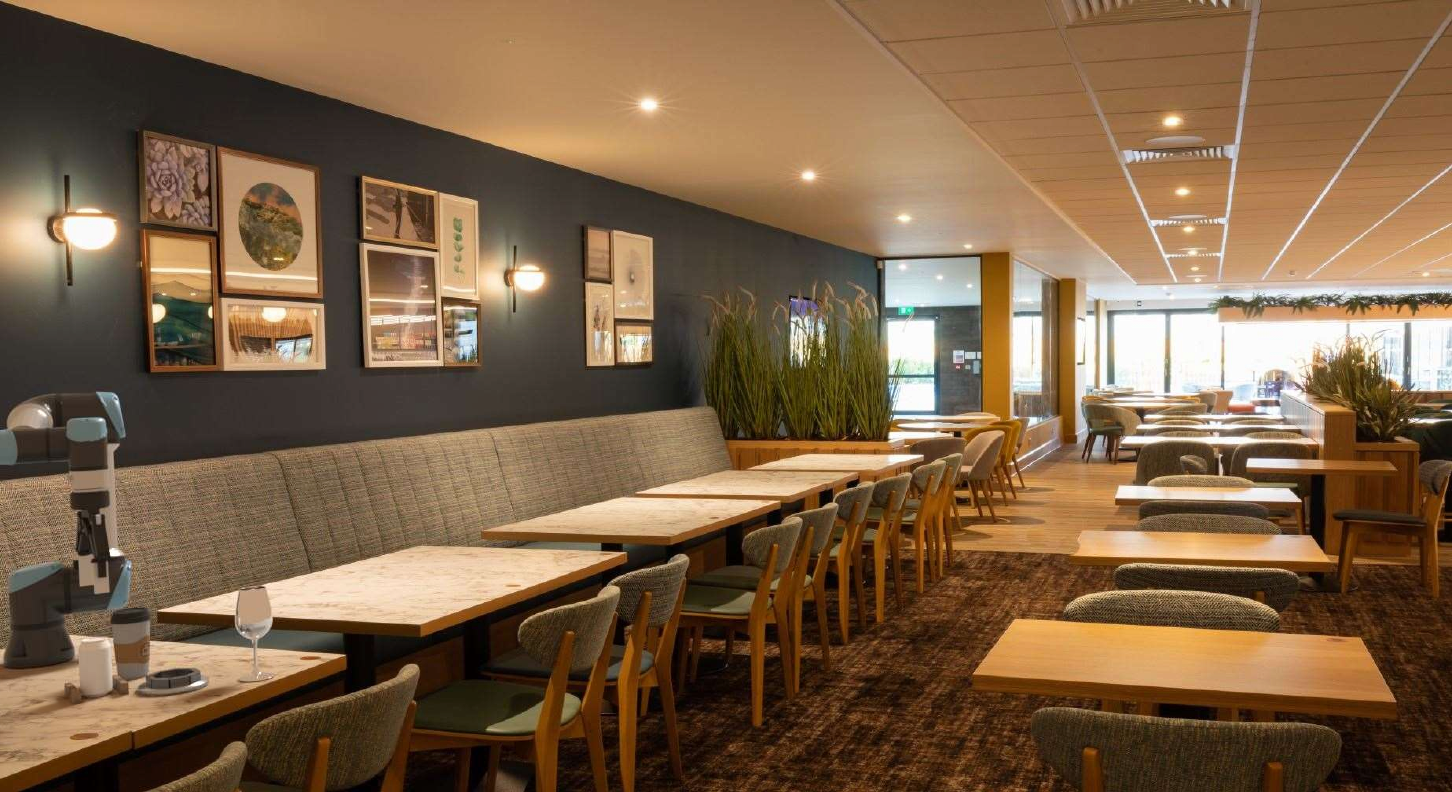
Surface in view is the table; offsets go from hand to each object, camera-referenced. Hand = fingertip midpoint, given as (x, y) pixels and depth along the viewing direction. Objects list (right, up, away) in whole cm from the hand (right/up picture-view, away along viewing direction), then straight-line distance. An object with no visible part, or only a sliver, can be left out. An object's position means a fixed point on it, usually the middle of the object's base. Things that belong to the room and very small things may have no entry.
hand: (94, 589), depth 263 cm
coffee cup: (+1, -22, +16) cm, 27 cm away
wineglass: (+31, -22, +10) cm, 39 cm away
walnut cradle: (0, -23, 0) cm, 23 cm away
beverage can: (0, -23, 0) cm, 23 cm away
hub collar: (+15, -22, +4) cm, 27 cm away
